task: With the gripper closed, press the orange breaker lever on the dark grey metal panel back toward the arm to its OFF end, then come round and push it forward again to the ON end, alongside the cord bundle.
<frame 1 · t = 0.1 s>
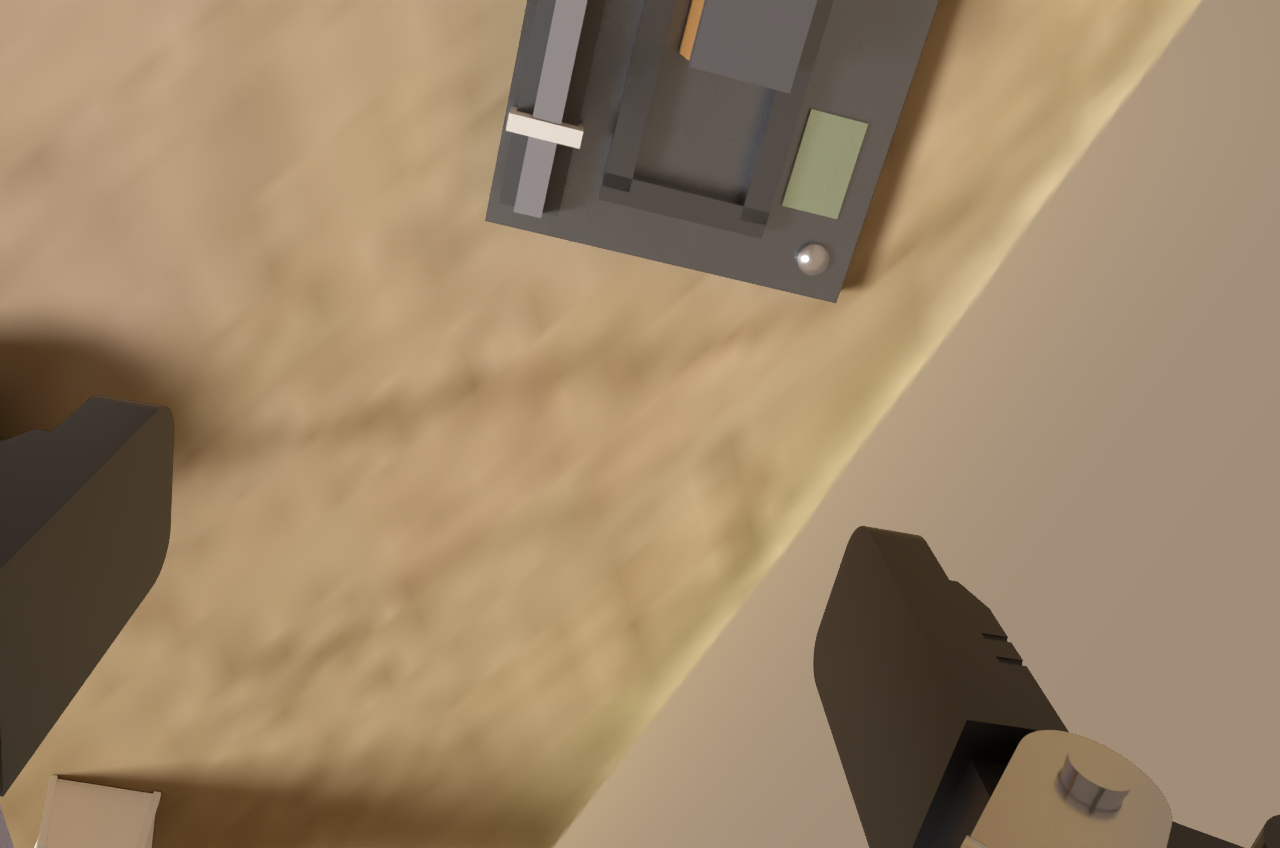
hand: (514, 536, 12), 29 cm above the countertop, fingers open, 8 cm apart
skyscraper: (104, 825, 51), on the countertop
breaker lever: (741, 22, 33), point 4 cm above the countertop, slide at 0.0 cm
breaker panel: (724, 17, 37), on the countertop
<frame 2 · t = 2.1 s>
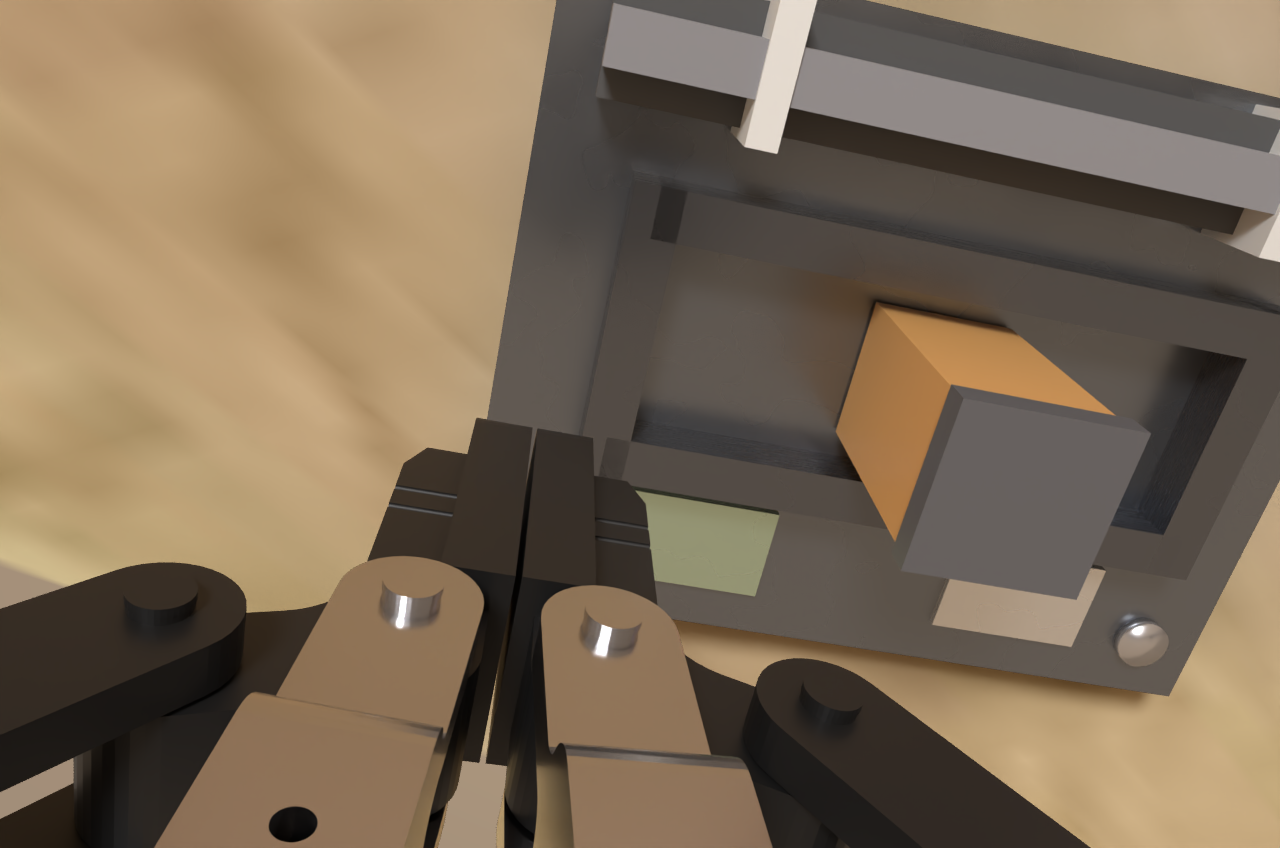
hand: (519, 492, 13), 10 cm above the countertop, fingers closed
breaker lever: (965, 434, 19), point 4 cm above the countertop, slide at 0.0 cm
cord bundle: (981, 112, 21), resting on breaker panel
breaker panel: (901, 355, 23), on the countertop
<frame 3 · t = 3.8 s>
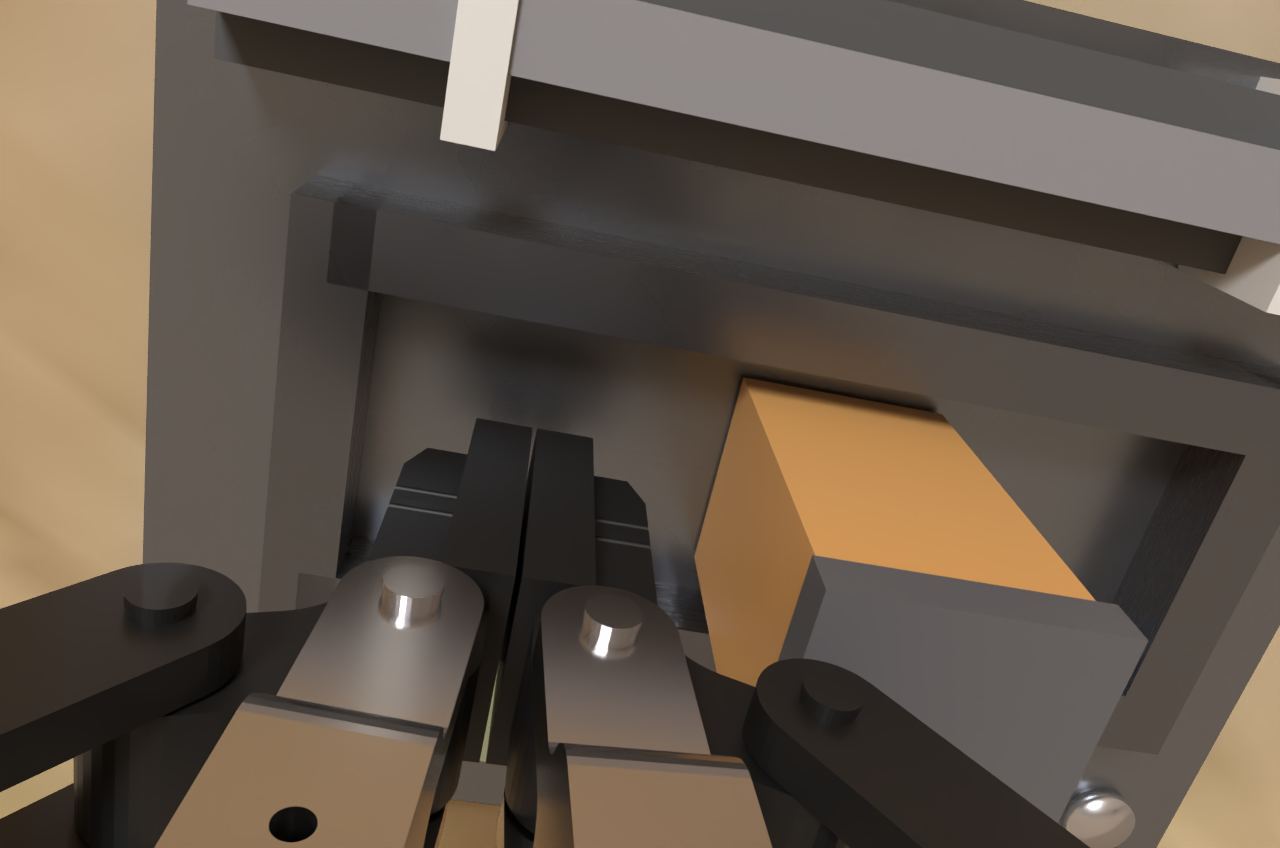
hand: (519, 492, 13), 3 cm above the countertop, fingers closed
breaker lever: (862, 591, 12), point 4 cm above the countertop, slide at -0.6 cm, touching gripper
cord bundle: (858, 89, 14), resting on breaker panel
breaker panel: (758, 435, 16), on the countertop
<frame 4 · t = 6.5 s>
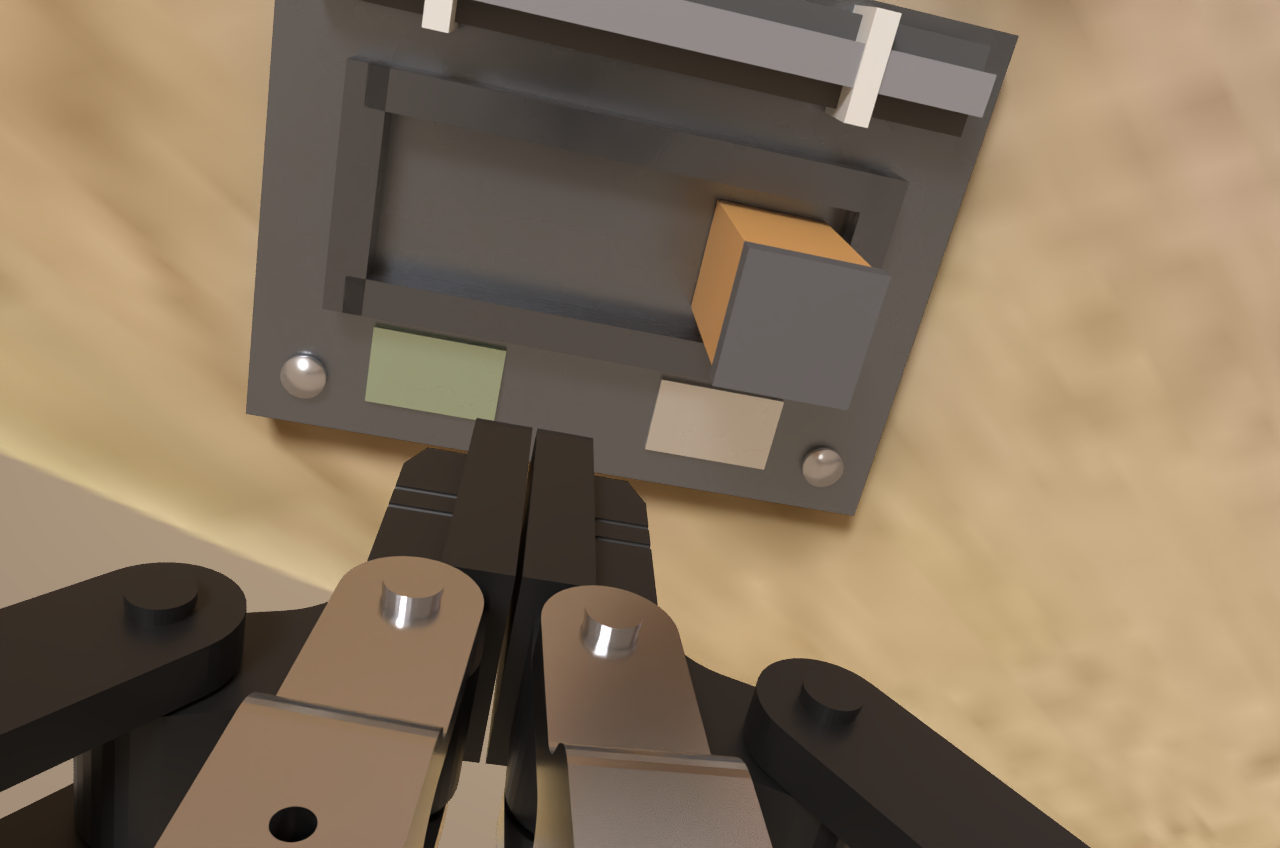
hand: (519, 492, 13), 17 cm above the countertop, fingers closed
breaker lever: (776, 295, 25), point 4 cm above the countertop, slide at -4.0 cm
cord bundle: (653, 14, 26), resting on breaker panel
breaker panel: (609, 222, 28), on the countertop
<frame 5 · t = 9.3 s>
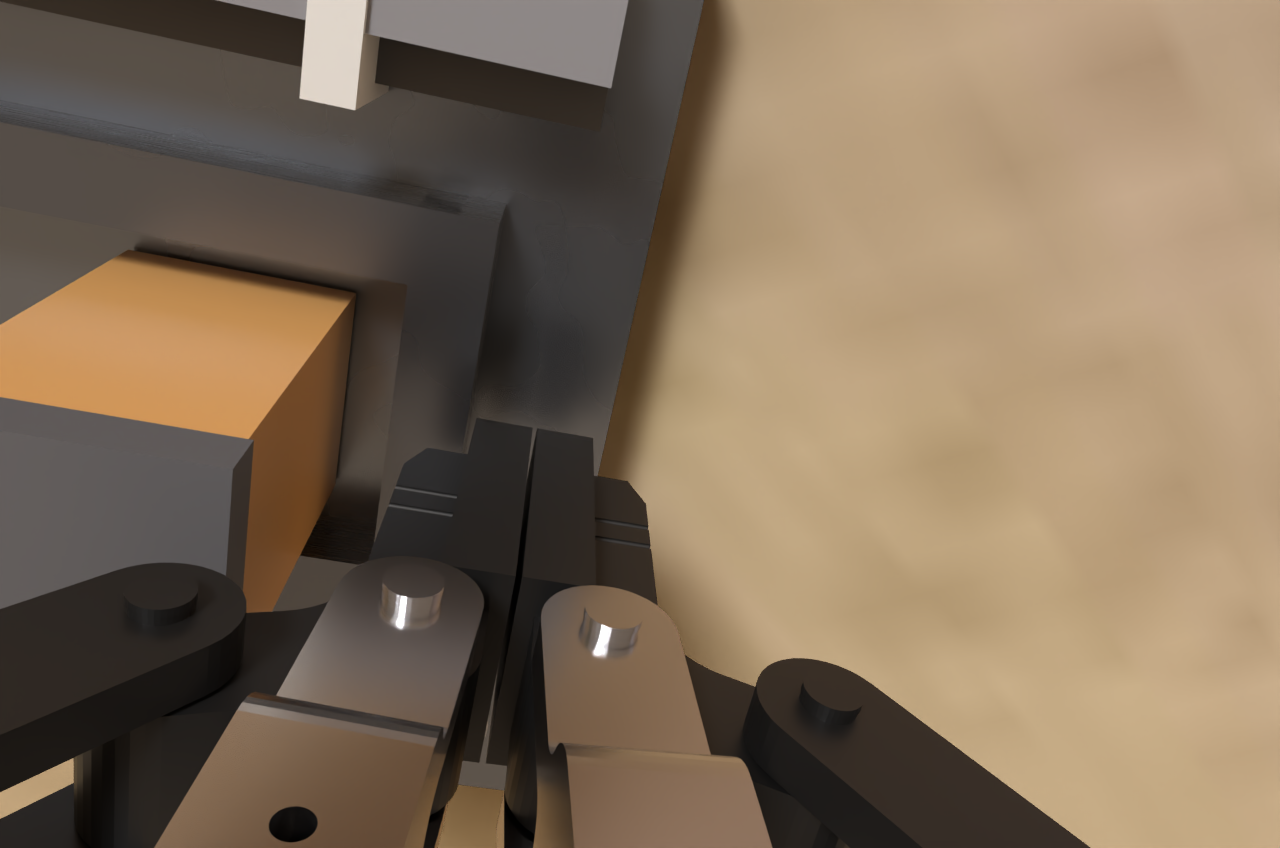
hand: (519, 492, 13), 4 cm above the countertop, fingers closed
breaker lever: (160, 460, 12), point 4 cm above the countertop, slide at -3.7 cm, touching gripper
breaker panel: (18, 290, 15), on the countertop
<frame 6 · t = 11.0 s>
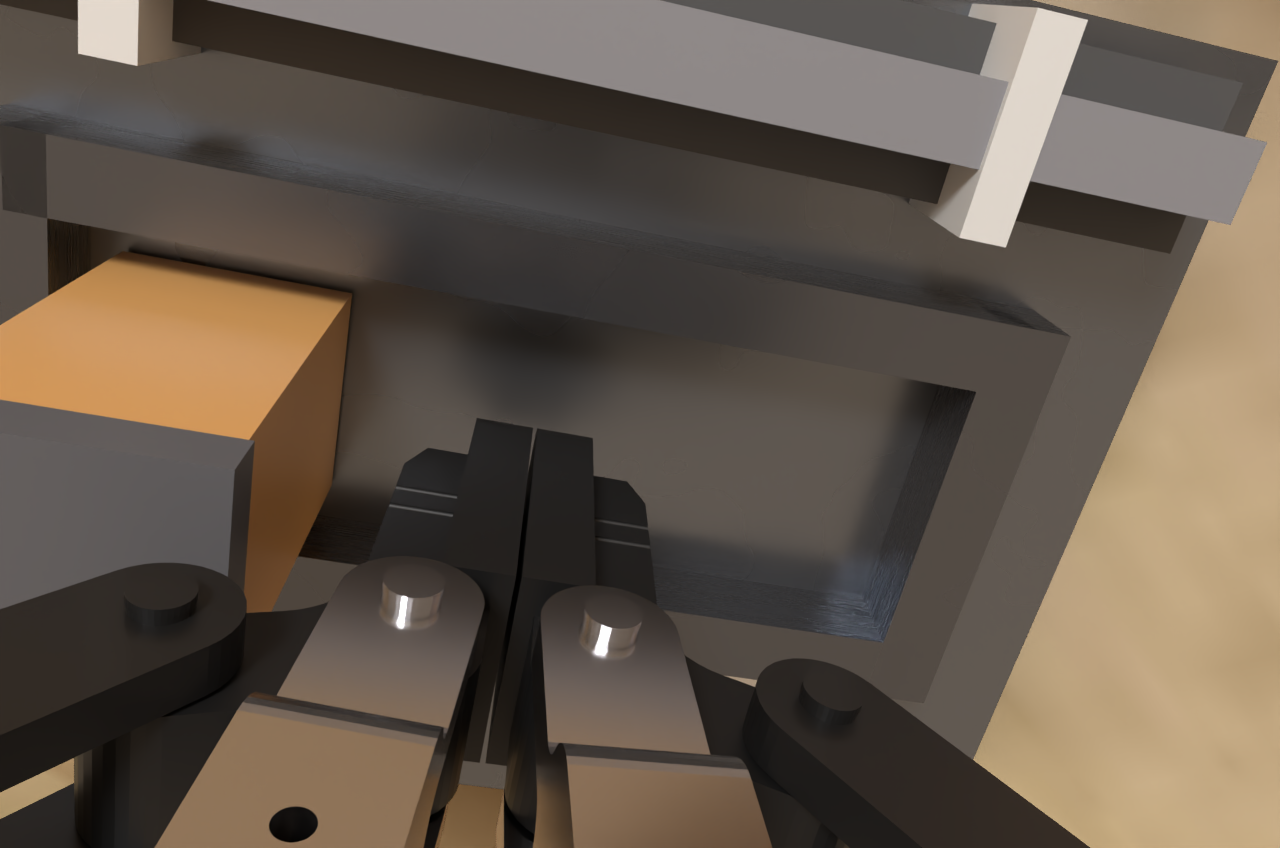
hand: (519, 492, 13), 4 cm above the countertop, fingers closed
breaker lever: (158, 461, 12), point 4 cm above the countertop, slide at 4.1 cm, touching gripper
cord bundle: (589, 23, 14), resting on breaker panel
breaker panel: (523, 383, 16), on the countertop
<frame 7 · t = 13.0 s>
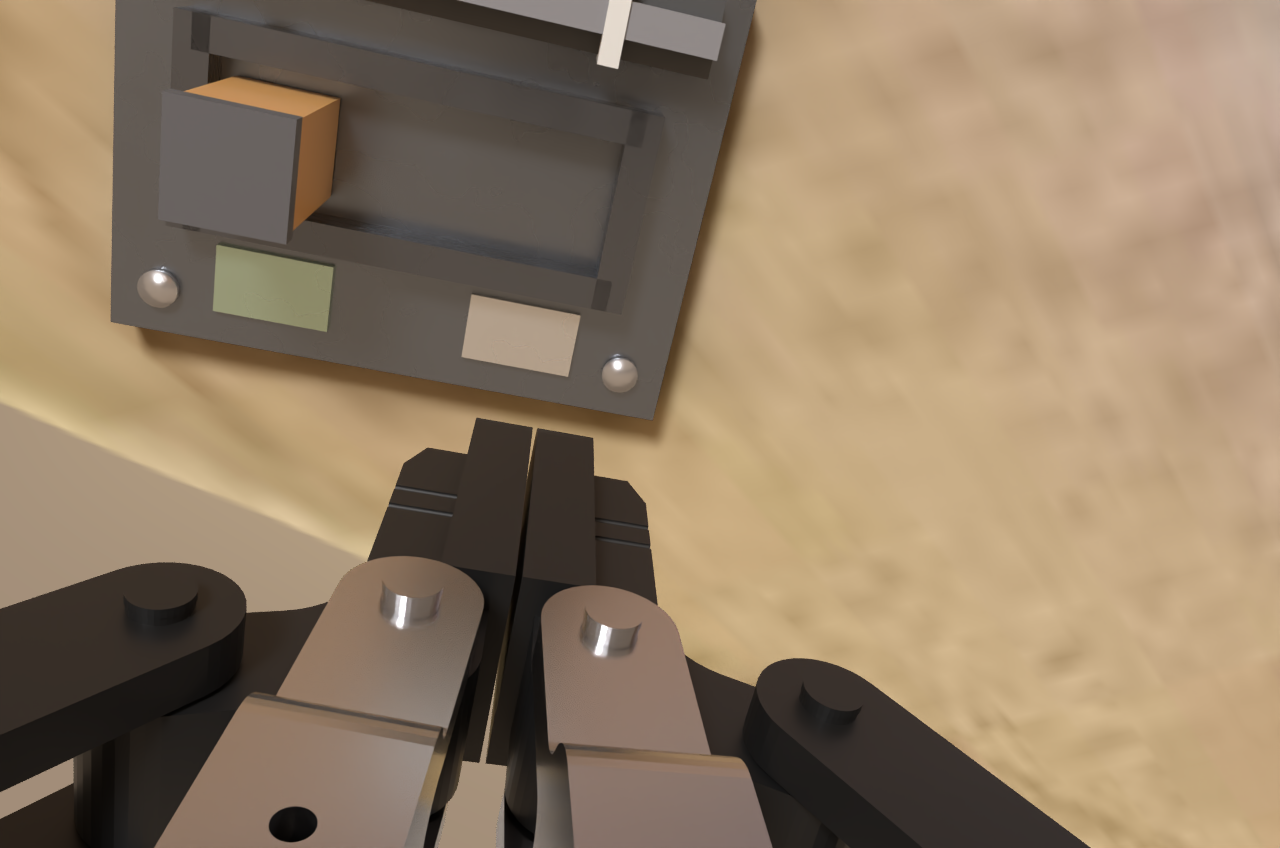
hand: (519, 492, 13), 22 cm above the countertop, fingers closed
breaker lever: (258, 152, 28), point 4 cm above the countertop, slide at 4.0 cm
breaker panel: (426, 157, 32), on the countertop
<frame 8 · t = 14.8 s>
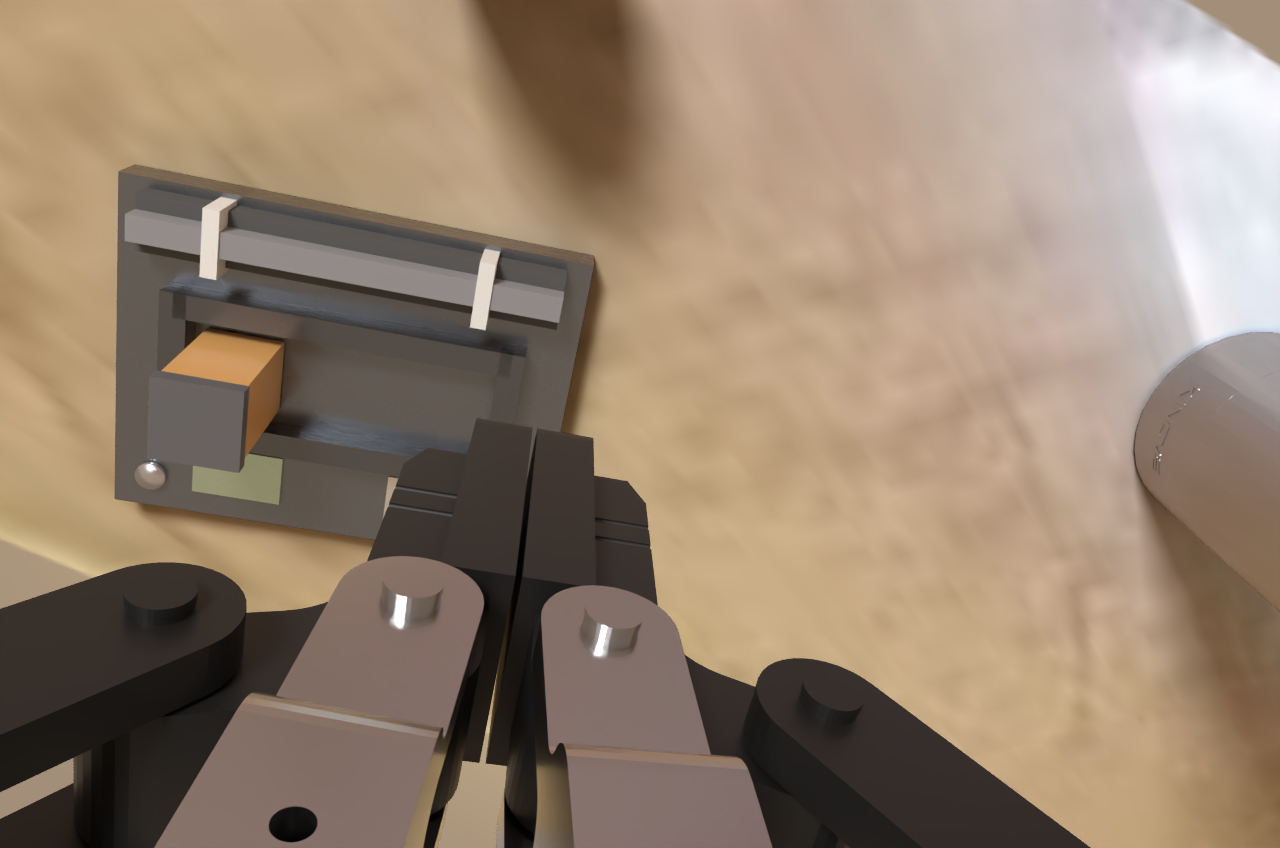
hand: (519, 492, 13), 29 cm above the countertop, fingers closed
breaker lever: (221, 395, 38), point 4 cm above the countertop, slide at 4.0 cm
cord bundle: (367, 248, 41), resting on breaker panel
breaker panel: (353, 373, 43), on the countertop
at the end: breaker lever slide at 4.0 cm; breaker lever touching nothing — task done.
